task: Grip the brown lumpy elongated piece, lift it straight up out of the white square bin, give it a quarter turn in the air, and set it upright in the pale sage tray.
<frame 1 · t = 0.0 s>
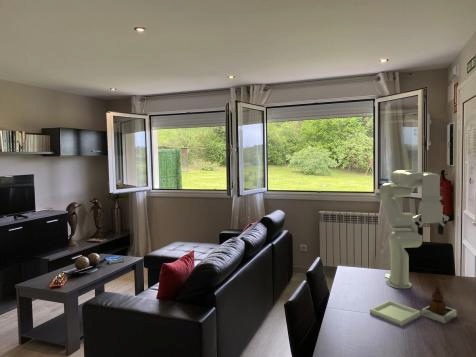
hand: (430, 234, 174), 37 cm above the table, tool pointing down, fingers open, 9 cm apart
white square bin: (438, 315, 170), on the table
brown lumpy elongated piece: (437, 316, 170), resting in white square bin
sage tray: (394, 315, 172), on the table
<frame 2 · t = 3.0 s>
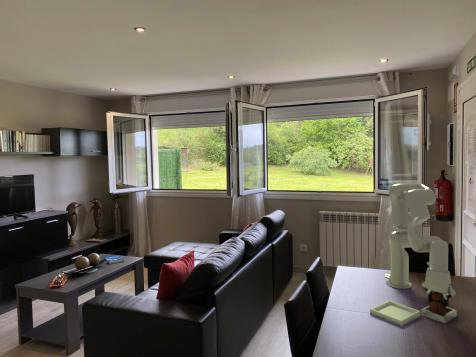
hand: (437, 303, 170), 6 cm above the table, tool pointing down, fingers closed on brown lumpy elongated piece, 6 cm apart
brown lumpy elongated piece: (437, 316, 170), resting in white square bin, touching gripper
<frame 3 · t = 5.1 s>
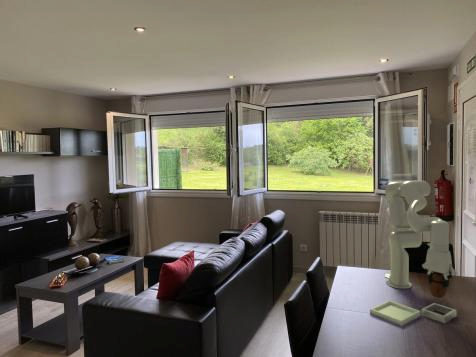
hand: (438, 284, 169), 15 cm above the table, tool pointing down, fingers closed on brown lumpy elongated piece, 6 cm apart
brown lumpy elongated piece: (437, 296, 170), point 9 cm above the table, touching gripper
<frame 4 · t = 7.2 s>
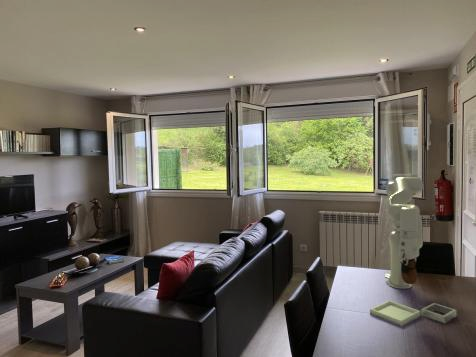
hand: (408, 271, 170), 21 cm above the table, tool pointing down, fingers closed on brown lumpy elongated piece, 6 cm apart
brown lumpy elongated piece: (409, 283, 170), point 16 cm above the table, touching gripper
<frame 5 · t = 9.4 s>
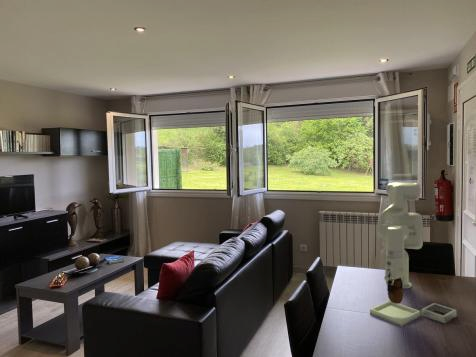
hand: (394, 290, 171), 12 cm above the table, tool pointing down, fingers closed on brown lumpy elongated piece, 6 cm apart
brown lumpy elongated piece: (395, 302, 171), point 6 cm above the table, touching gripper
when the fingers open (7 cm above the table, at t = 11.2 s): brown lumpy elongated piece stays where it is, resting on sage tray.
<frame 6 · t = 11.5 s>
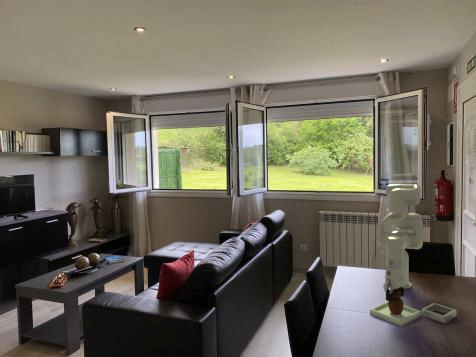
hand: (394, 298, 172), 8 cm above the table, tool pointing down, fingers open, 8 cm apart
brown lumpy elongated piece: (395, 313, 172), point 1 cm above the table, touching sage tray
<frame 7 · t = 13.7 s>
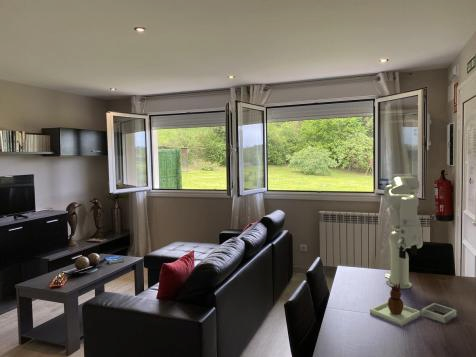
hand: (408, 255, 179), 26 cm above the table, tool pointing down, fingers open, 9 cm apart
nothing on the table moved.
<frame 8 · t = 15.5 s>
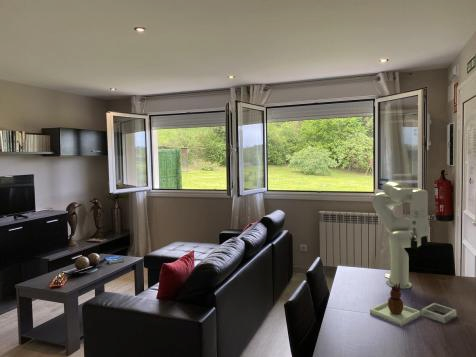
hand: (419, 246, 186), 28 cm above the table, tool pointing down, fingers open, 9 cm apart
nothing on the table moved.
at the end: brown lumpy elongated piece inside the target area on the sage tray (0.3 cm from its centre), point 0.8 cm above the sage tray's base; brown lumpy elongated piece tilted 0°; the gripper is holding nothing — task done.
